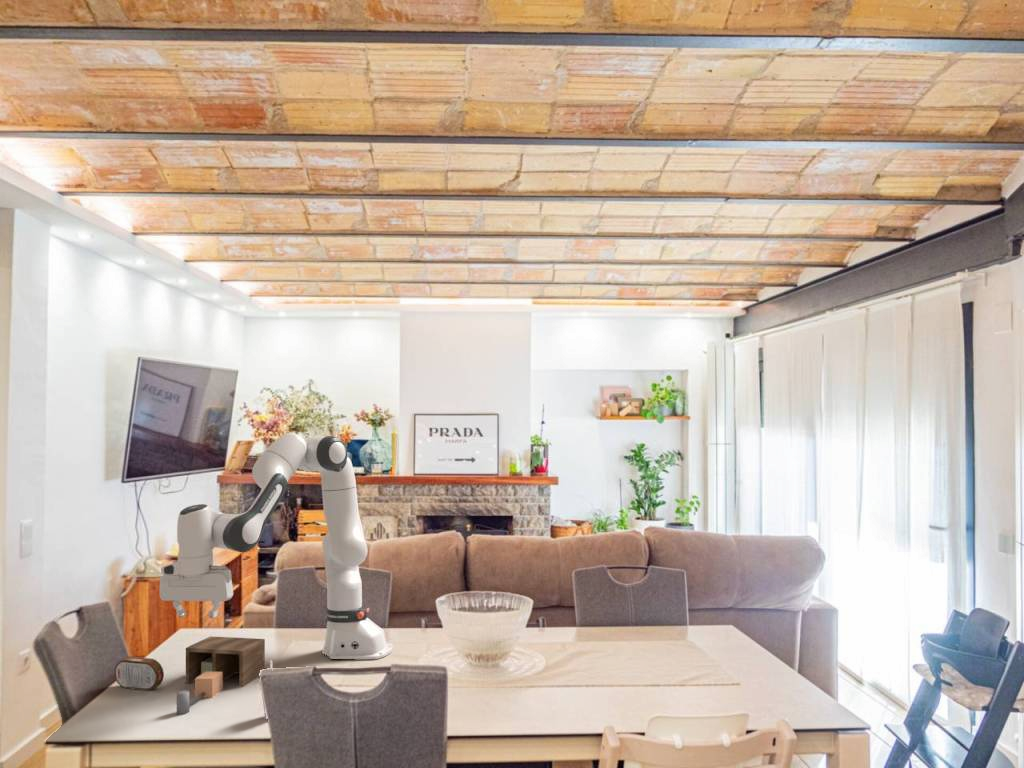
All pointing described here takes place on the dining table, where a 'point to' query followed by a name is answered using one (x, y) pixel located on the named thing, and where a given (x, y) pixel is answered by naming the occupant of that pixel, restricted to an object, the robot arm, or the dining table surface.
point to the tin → (139, 673)
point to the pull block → (200, 690)
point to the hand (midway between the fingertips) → (197, 616)
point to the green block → (206, 665)
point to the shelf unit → (227, 657)
